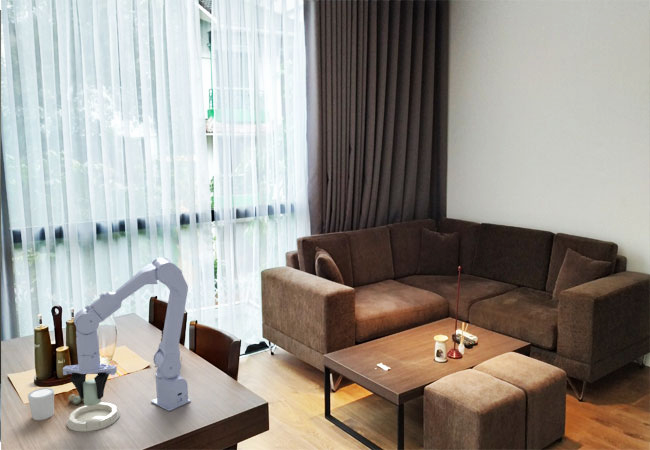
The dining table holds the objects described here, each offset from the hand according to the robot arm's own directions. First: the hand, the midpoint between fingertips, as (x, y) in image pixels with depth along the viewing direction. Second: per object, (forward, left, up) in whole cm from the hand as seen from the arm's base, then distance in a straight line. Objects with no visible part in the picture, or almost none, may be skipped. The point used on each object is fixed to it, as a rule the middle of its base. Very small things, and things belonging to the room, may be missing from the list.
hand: (92, 397), depth 159 cm
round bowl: (0, 0, -7) cm, 7 cm away
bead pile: (+13, -3, -7) cm, 15 cm away
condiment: (+18, -38, -7) cm, 43 cm away
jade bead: (0, 0, -2) cm, 2 cm away
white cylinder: (+14, +8, -7) cm, 17 cm away
